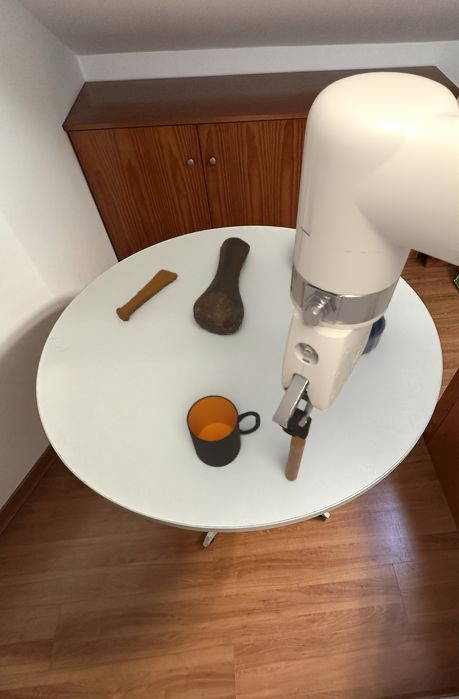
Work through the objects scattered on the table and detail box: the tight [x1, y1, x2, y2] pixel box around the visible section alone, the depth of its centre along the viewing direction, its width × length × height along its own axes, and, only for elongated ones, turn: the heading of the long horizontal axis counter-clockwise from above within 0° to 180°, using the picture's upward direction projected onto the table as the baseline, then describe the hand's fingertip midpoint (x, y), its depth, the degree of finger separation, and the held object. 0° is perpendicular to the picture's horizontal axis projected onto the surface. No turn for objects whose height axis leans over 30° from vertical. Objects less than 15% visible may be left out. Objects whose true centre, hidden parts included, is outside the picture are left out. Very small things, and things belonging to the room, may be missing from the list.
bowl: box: [362, 314, 386, 355], centre depth 78 cm, size 12×12×5 cm
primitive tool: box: [115, 269, 179, 322], centre depth 90 cm, size 19×6×4 cm, turn 152°
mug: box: [186, 394, 261, 468], centre depth 62 cm, size 8×12×10 cm
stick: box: [284, 436, 307, 482], centre depth 56 cm, size 2×2×14 cm
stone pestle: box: [192, 236, 251, 335], centre depth 87 cm, size 11×10×28 cm
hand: (313, 396), depth 41 cm, fingers open, 9 cm apart
